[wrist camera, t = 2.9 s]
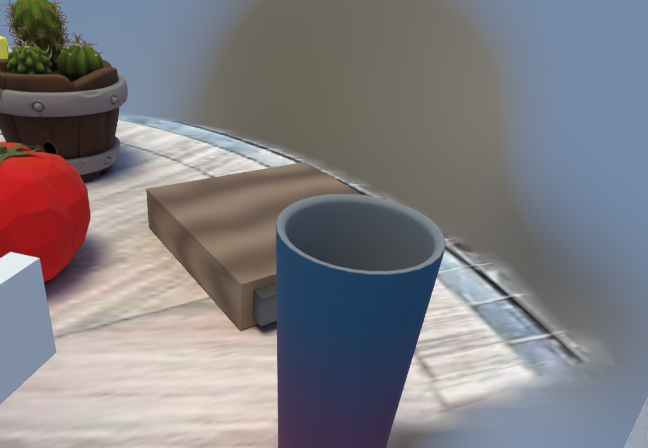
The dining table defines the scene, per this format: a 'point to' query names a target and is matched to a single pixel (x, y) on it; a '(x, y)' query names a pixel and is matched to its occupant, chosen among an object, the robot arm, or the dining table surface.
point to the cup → (348, 315)
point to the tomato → (41, 207)
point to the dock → (234, 232)
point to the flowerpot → (59, 92)
